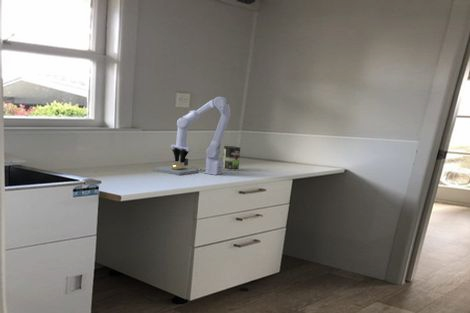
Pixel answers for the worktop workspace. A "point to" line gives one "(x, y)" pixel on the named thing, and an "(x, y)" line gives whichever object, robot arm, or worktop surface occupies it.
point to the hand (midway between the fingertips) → (179, 162)
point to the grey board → (173, 171)
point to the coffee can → (231, 158)
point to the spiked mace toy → (180, 165)
